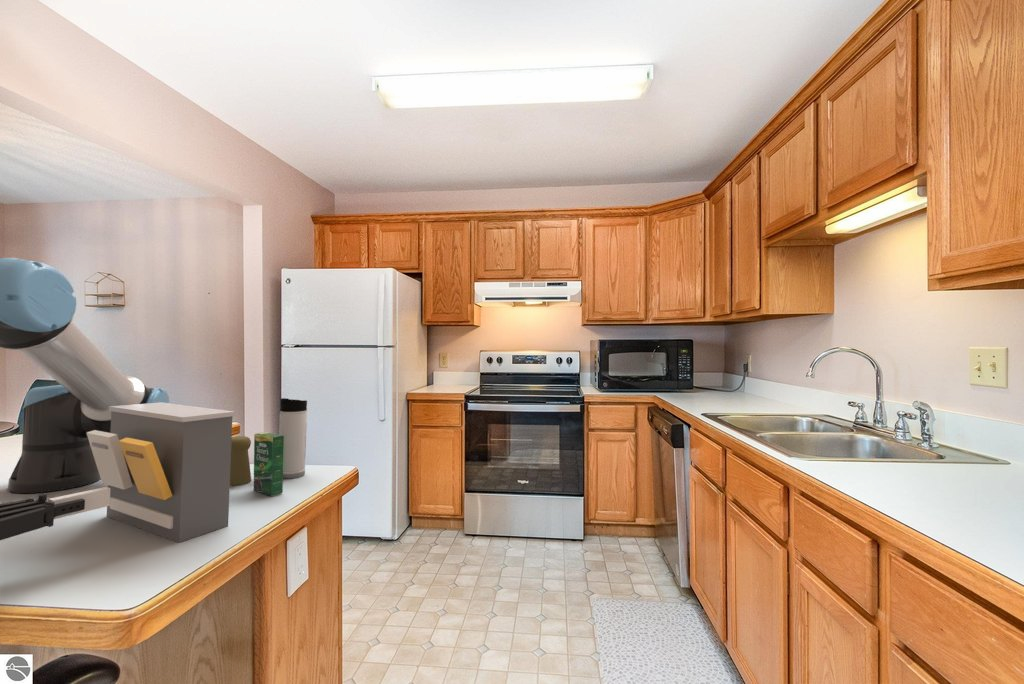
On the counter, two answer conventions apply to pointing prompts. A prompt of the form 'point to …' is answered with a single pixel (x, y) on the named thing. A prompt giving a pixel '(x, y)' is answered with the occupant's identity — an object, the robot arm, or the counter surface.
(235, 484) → the cork
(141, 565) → the counter surface
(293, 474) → the travel mug
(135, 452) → the rocker amber
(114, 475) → the rocker ivory
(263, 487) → the coffee box
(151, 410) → the switch panel
